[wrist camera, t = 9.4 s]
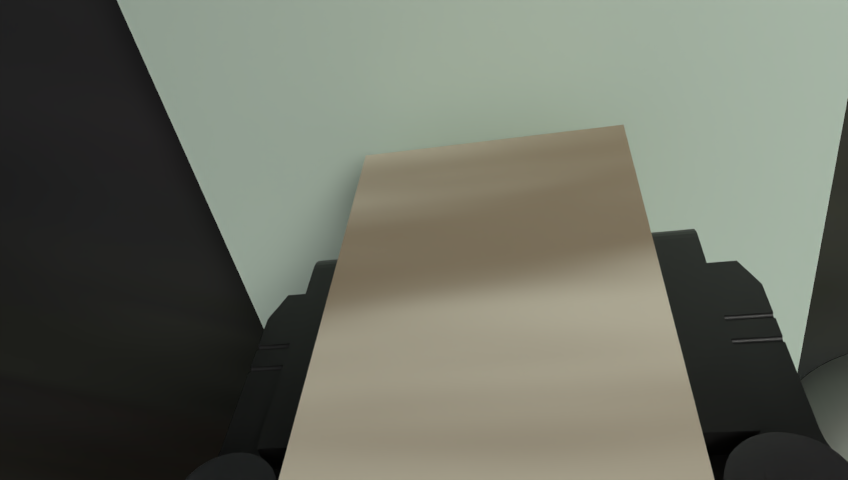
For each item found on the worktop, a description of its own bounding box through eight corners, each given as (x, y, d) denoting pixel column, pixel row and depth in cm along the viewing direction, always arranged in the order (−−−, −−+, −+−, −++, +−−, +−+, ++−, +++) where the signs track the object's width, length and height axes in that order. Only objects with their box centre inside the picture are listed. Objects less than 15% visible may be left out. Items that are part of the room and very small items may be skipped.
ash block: (365, 155, 12) (248, 593, 6) (623, 124, 11) (742, 588, 6) (414, 331, 14) (359, 757, 9) (628, 315, 13) (714, 769, 8)
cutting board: (91, -184, 11) (42, -165, 10) (876, -355, 9) (930, -356, 8) (329, 404, 20) (318, 451, 19) (767, 382, 18) (786, 434, 16)
